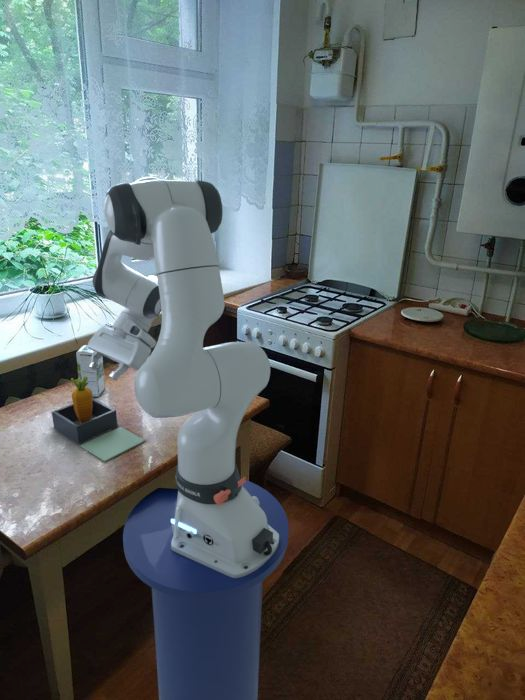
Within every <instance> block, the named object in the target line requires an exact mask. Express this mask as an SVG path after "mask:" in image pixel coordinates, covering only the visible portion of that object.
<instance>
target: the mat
mask: <svg viewBox="0 0 525 700" xmlns="http://www.w3.org/2000/svg"><path fill="white" fill-rule="evenodd" d="M144 442H146V441H145V439H144V438H142V437H140V436H139V435H137V434H135V433H133V432H131V431H129V430H128V429H127V428H125V427H122V426H119V427H116V428H114V429H111V430H109V431H107V433H106V432H105V433H103V434H101V435H99V436H96V437H94V438H92V439H90V440H88V441H86V442H84V443H83V444H82V443H81V445H80V448H82V449H84V450H86V451H87V452H88V453H90V454H92V455H93V456H95V457H96V458H98V459H100V460H101V461H103V462H104V463H105V462H107V461H110V460H112V459H113V458H115V457H118V456H120V455H121V454H123V453H125V452H127V451H129V450H132V449H133V448H135V447H136V446H139V445H141V444H143V443H144Z"/></svg>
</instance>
